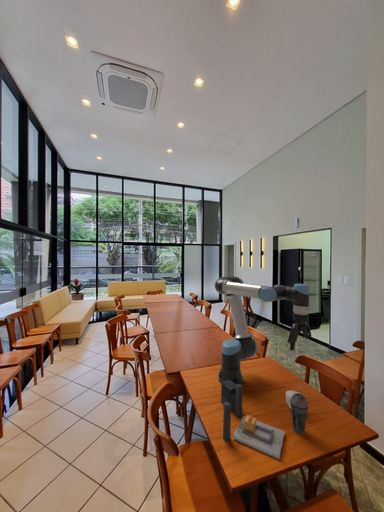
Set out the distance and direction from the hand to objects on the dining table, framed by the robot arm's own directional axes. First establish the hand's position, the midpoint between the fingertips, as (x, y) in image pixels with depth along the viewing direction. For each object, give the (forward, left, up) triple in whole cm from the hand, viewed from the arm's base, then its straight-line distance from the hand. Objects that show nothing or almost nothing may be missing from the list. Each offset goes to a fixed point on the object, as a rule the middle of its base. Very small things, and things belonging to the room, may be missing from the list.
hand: (299, 353), depth 118 cm
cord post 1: (-24, -43, -26) cm, 55 cm away
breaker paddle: (-16, -35, -24) cm, 45 cm away
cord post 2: (-24, -27, -26) cm, 44 cm away
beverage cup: (+2, -22, -26) cm, 34 cm away
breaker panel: (-12, -35, -26) cm, 45 cm away
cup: (-2, -6, -26) cm, 27 cm away
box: (-30, -22, -26) cm, 46 cm away
